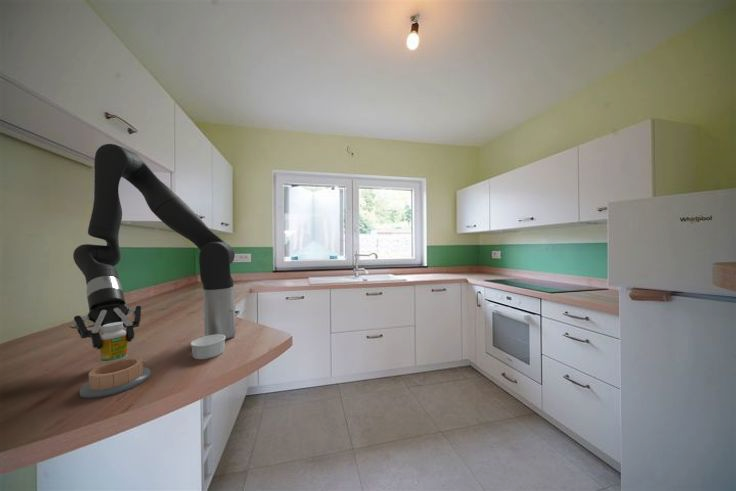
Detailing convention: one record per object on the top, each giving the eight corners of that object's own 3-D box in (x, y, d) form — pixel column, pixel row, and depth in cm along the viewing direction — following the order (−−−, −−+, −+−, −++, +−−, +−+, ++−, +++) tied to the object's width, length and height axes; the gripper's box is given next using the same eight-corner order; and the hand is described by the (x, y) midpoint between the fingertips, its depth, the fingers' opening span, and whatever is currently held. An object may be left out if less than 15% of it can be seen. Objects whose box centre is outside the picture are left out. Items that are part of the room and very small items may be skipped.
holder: (158, 367, 69) (157, 352, 69) (138, 390, 58) (137, 372, 58) (99, 377, 65) (98, 361, 65) (65, 404, 54) (64, 384, 54)
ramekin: (198, 363, 71) (197, 347, 71) (185, 355, 76) (185, 341, 76) (231, 352, 78) (230, 337, 78) (218, 345, 83) (217, 332, 83)
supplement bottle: (111, 364, 68) (109, 327, 68) (95, 363, 69) (92, 327, 69) (133, 355, 74) (131, 321, 74) (117, 354, 75) (115, 320, 74)
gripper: (69, 291, 70) (75, 344, 63) (139, 283, 81) (151, 328, 74) (68, 308, 73) (74, 361, 66) (135, 298, 85) (147, 342, 78)
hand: (115, 343), depth 70 cm, fingers closed on supplement bottle, 5 cm apart
